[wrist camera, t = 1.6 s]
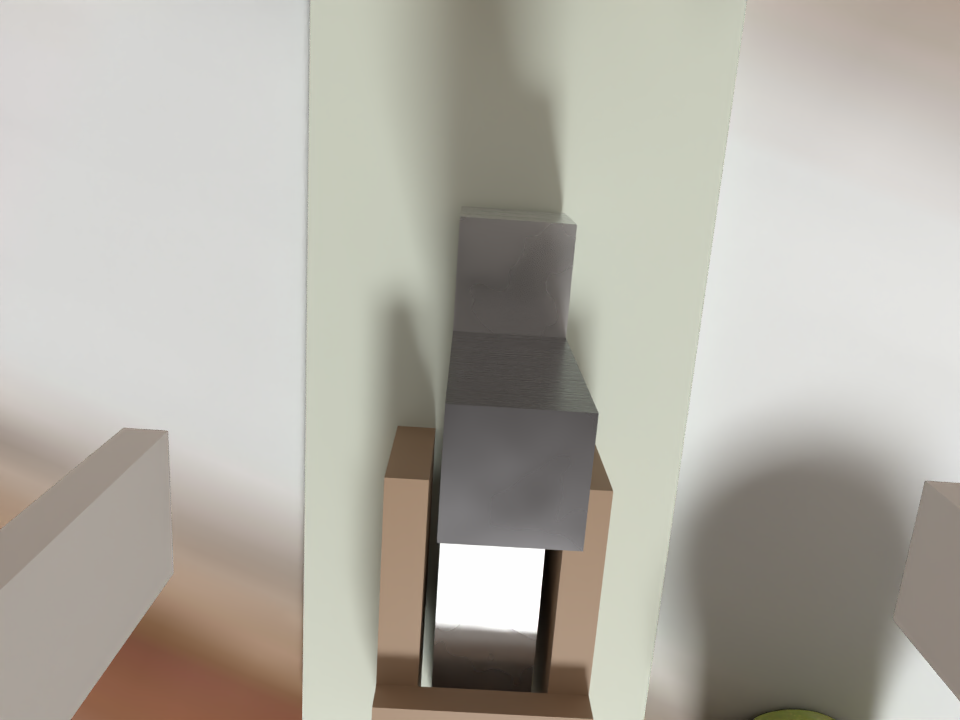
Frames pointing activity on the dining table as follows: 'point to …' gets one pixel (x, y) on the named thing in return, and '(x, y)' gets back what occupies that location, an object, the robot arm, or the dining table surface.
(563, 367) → the slide bar
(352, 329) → the board
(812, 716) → the plant pot
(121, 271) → the dining table surface
